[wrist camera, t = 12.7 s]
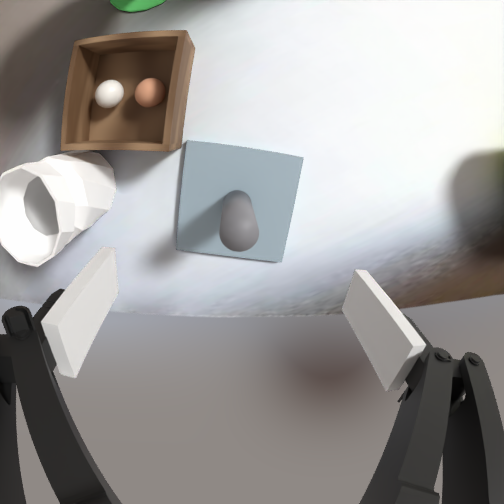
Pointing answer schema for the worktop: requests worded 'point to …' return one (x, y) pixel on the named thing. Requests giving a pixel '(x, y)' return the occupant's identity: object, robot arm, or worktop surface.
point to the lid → (236, 200)
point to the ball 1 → (109, 94)
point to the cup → (135, 4)
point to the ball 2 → (150, 92)
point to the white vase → (52, 203)
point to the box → (127, 91)
